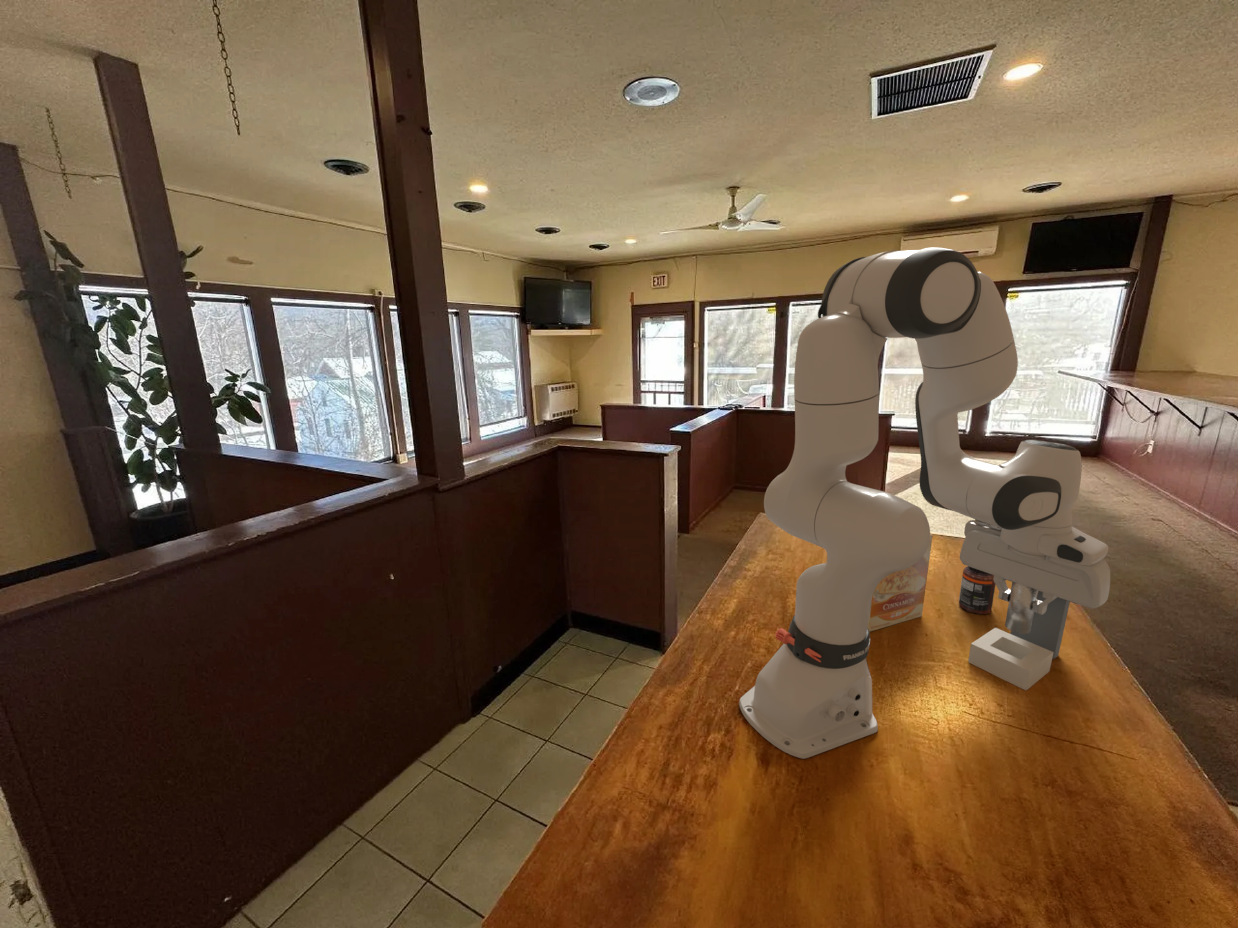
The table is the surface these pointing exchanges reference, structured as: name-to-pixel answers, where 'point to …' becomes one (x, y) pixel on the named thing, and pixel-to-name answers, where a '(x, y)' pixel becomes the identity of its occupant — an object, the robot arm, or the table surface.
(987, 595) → the supplement bottle
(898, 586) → the coffeecake box
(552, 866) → the table surface
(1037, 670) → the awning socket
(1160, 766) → the table surface
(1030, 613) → the peg
